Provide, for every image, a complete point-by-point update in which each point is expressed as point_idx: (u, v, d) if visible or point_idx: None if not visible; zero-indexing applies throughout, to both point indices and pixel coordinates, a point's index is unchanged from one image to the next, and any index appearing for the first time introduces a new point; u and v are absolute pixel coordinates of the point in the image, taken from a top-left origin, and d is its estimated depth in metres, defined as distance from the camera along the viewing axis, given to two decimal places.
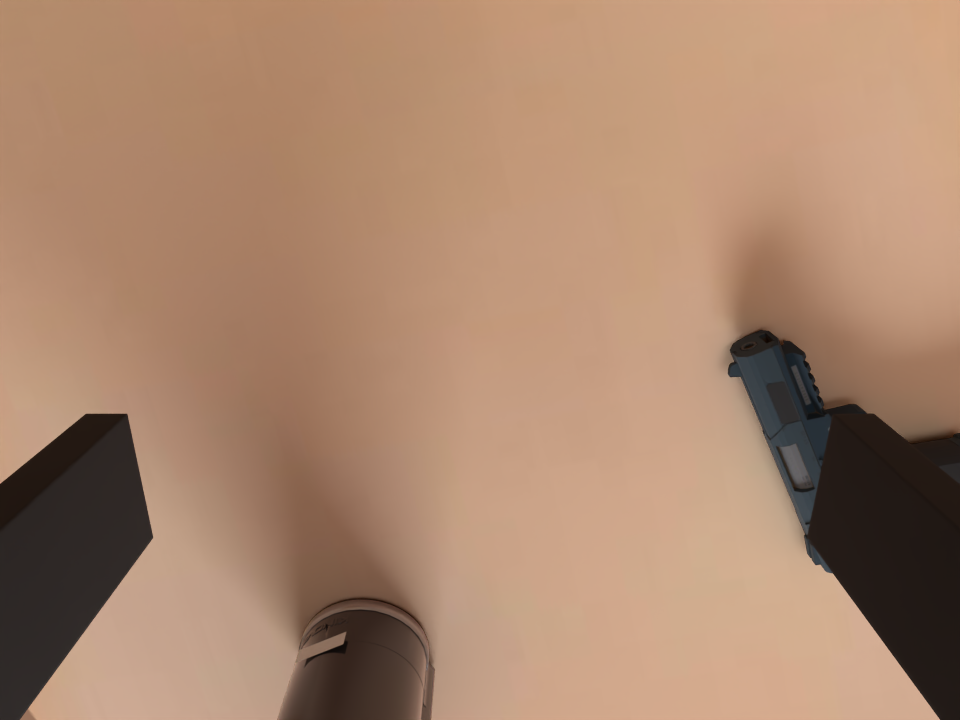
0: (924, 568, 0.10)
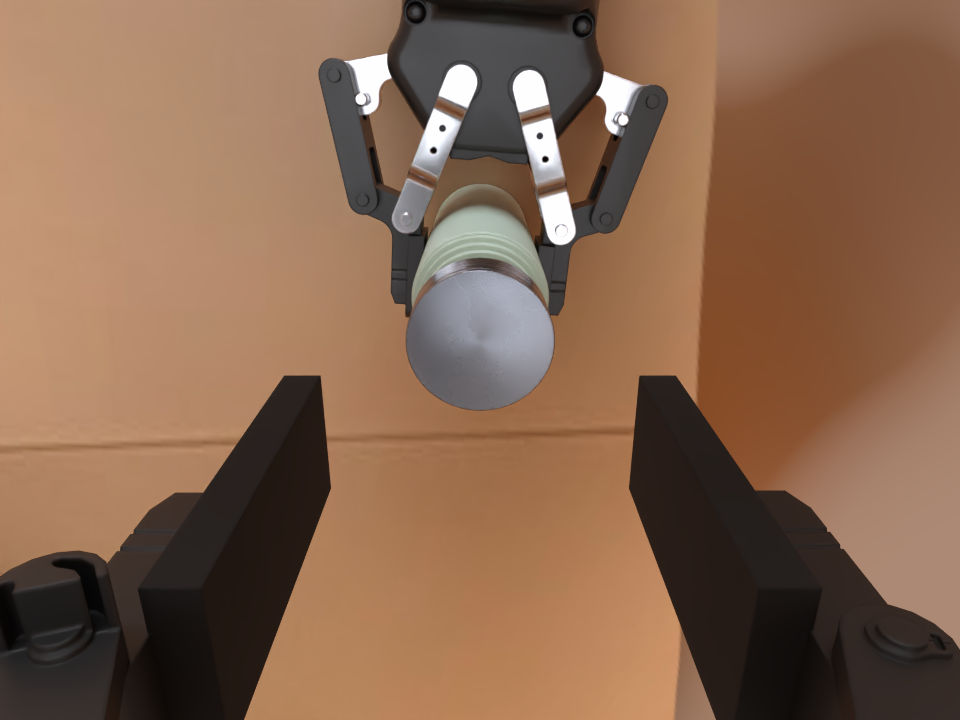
0: (675, 499, 0.12)
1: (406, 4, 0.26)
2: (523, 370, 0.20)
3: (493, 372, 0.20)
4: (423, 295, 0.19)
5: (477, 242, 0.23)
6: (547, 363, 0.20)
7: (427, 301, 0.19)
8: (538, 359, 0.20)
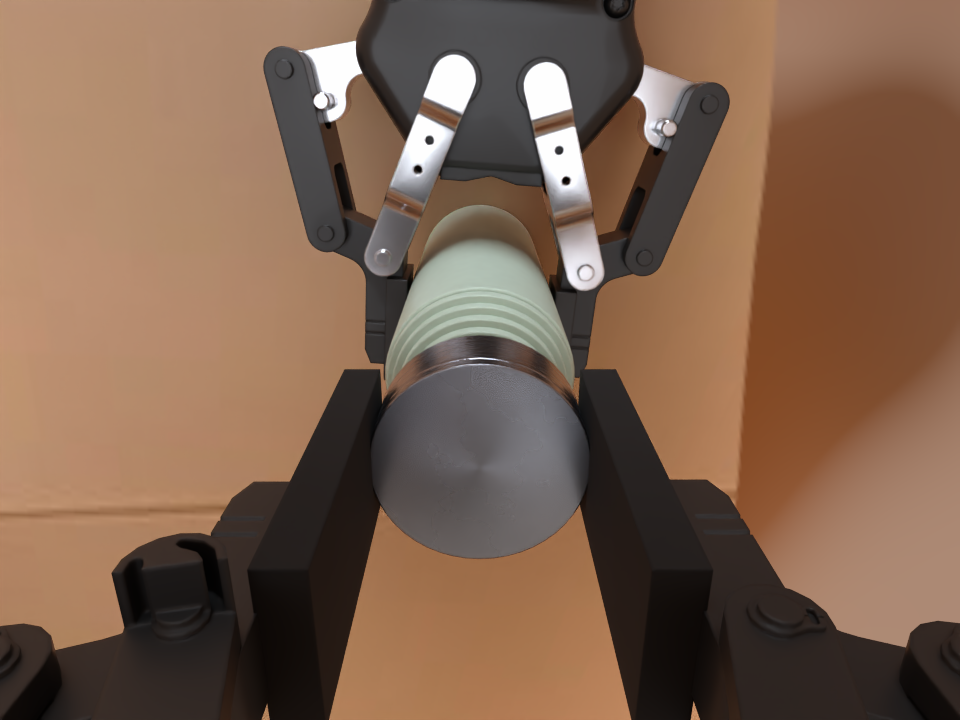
0: (602, 488, 0.12)
1: None
2: (544, 504, 0.14)
3: (499, 507, 0.14)
4: (394, 399, 0.13)
5: (475, 304, 0.16)
6: (579, 494, 0.14)
7: (400, 408, 0.13)
8: (566, 489, 0.13)
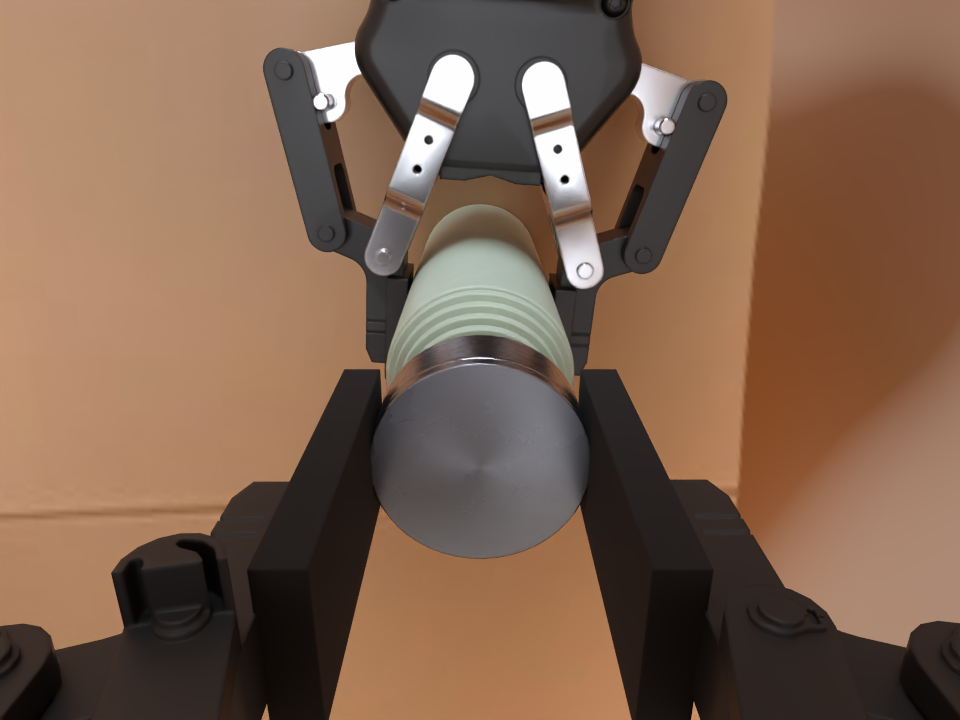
0: (602, 488, 0.12)
1: None
2: (513, 402, 0.13)
3: (523, 442, 0.13)
4: (424, 542, 0.14)
5: (474, 302, 0.16)
6: (496, 370, 0.13)
7: (429, 540, 0.14)
8: (491, 384, 0.13)
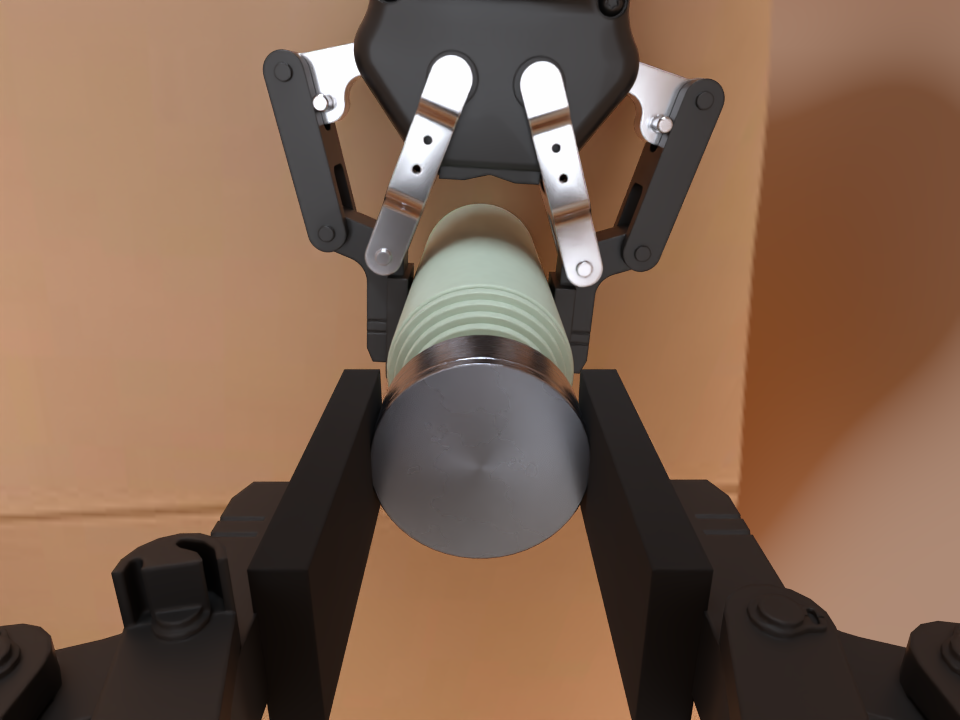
0: (601, 488, 0.12)
1: None
2: (403, 449, 0.13)
3: (445, 433, 0.13)
4: (579, 501, 0.14)
5: (474, 300, 0.16)
6: (374, 469, 0.13)
7: (572, 500, 0.14)
8: (389, 471, 0.13)
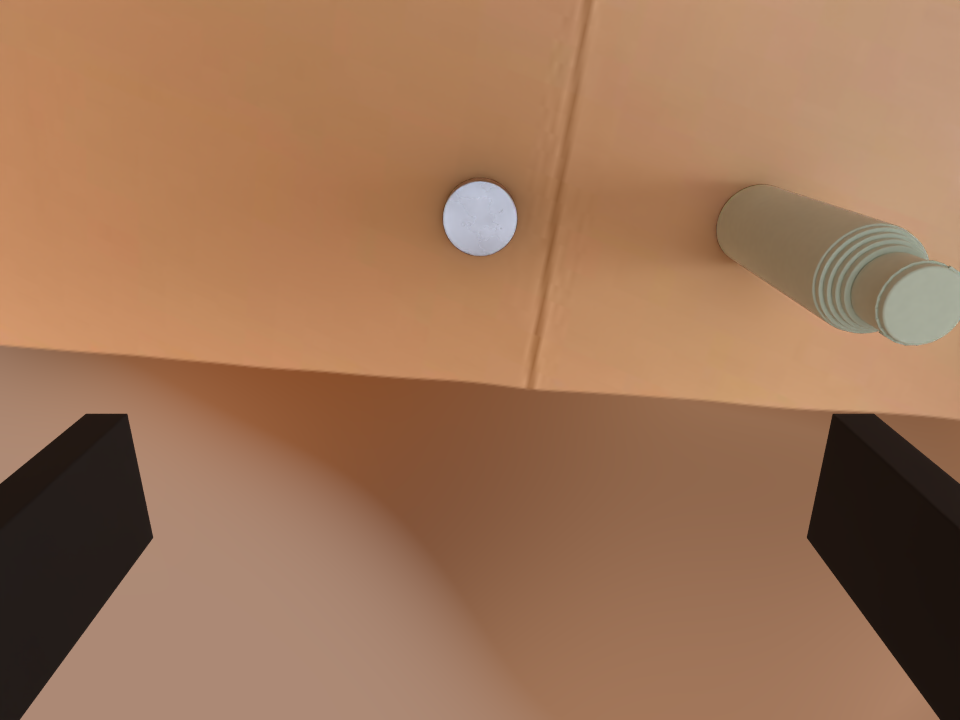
0: (924, 568, 0.10)
1: None
2: (506, 217, 0.40)
3: (494, 227, 0.40)
4: (443, 216, 0.40)
5: None
6: (513, 207, 0.40)
7: (446, 217, 0.40)
8: (508, 208, 0.40)
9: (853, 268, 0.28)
